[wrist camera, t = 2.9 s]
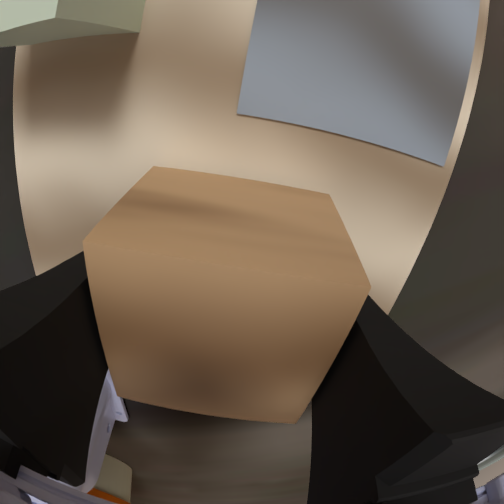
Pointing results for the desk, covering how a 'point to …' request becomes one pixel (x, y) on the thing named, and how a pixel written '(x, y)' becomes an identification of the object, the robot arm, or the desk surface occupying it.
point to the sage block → (66, 19)
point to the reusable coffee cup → (113, 481)
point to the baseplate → (255, 114)
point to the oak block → (222, 293)
